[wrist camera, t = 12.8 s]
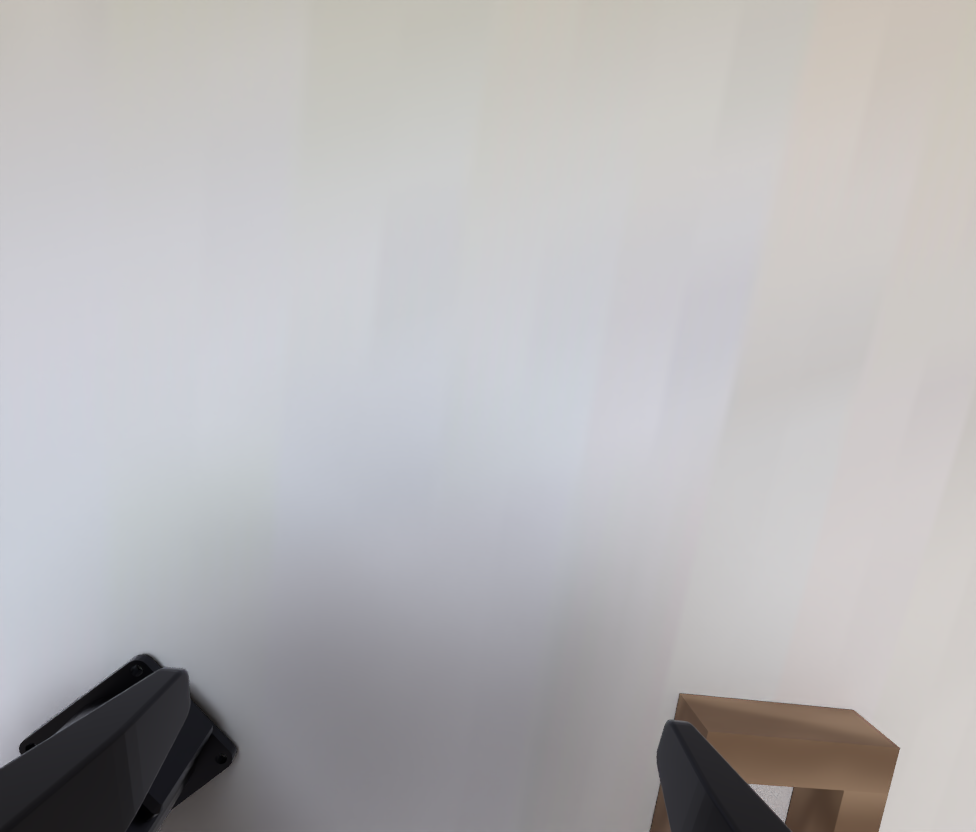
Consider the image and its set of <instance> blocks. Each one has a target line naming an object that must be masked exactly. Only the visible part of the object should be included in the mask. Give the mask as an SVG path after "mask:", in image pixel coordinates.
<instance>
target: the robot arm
mask: <svg viewBox="0 0 976 832" xmlns="http://www.w3.org/2000/svg"><path fill="white" fill-rule="evenodd" d="M137 666H140V667H142V669H143V671H142V670H139V669H138V668H137ZM35 744H36V745H37V746H36V745H35ZM19 751H20V753H21V756H19V757H18V758H16V759H14V760H13V761H11V762H10V763H8V764H6V765H5V766H3V767H2V768H0V832H157V831H158V830H159V828H160V826H161V825H162V823H163V822H164V820H165V818H166V817H167V815H168V813H169V812H170V810H172V809H173V808H174V807H176V806H177V805H178V804H180V803H181V802H182V801H184V800H185V799H186V798H187V797H189V796H190V795H191V794H193V793H194V792H195V791H197V790H198V789H199V788H201V787H202V786H203V785H205V784H206V783H207V782H209V781H210V780H211V779H213V778H214V777H215V776H217V775H218V774H219V773H221V772H222V771H223V770H225V769H226V768H227V767H229V766H230V764H231V763H232V761H233V760H234V758H235V756H236V753H237V751H236V747H235V746H234V744H233V743H232V742H231V741H230V740H229V739H228V738H227V737H226V736H225V735H224V734H223V733H222V732H221V731H220V730H219V728H218V727H217V726H216V725H215V724H214V723H213V722H212V721H211V720H210V719H209V718H208V717H207V716H206V715H205V714H204V713H203V712H202V711H201V710H200V708H199V707H198V706H197V705H196V704H195V703H194V702H193V701H192V700H191V699H190V688H189V675H188V672H187V671H186V670H185V669H181V668H171V667H164V668H161V667H160V666H159V665H158V664H157V663H156V662H155V661H154V660H153V659H152V658H151V657H149V656H147V655H138V656H136V657H134V658H133V659H131V660H130V661H129V662H127V663H126V664H125V665H123V666H122V667H121V668H119V669H118V670H117V671H115V672H114V673H112V674H111V675H110V676H108V677H107V678H106V679H104V680H103V681H102V682H100V683H99V684H98V685H96V686H95V687H94V688H92V689H91V690H90V691H88V692H87V693H85V694H84V695H83V696H81V697H80V698H79V699H77V700H76V701H75V702H73V703H72V704H71V705H69V706H68V707H67V708H65V709H64V710H63V711H61V712H60V713H58V714H57V715H56V716H54V717H53V718H52V719H50V720H49V721H48V722H46V723H45V724H44V725H42V726H41V727H40V728H38V729H37V730H36V731H34V732H33V733H32V734H30V735H29V736H28V737H27V738H26V739H25V740H24V741H23V742H22V743H21V744H20V747H19ZM220 754H224V755H226V757H223V756H221V755H220ZM657 767H658V772H659V777H660V782H661V786H662V791H663V796H664V801H665V806H666V810H667V815H668V820H669V825H670V830H671V832H792V831H791V830H790V829H789V828H788V827H787V825H786V824H785V823H784V822H783V821H782V820H781V819H780V818H779V817H778V816H777V815H776V814H775V813H774V812H773V810H772V809H771V808H770V807H769V806H768V805H767V804H766V803H765V802H764V801H763V800H762V799H761V798H760V797H759V795H758V794H757V793H756V792H755V791H754V790H753V789H752V788H751V787H750V786H749V785H748V784H747V783H746V781H745V780H744V779H743V778H742V777H741V776H740V775H739V774H738V773H737V772H736V771H735V770H734V769H733V768H732V766H731V765H730V764H729V763H728V762H727V761H726V760H725V759H724V758H723V757H722V756H721V755H720V754H719V753H718V751H717V750H716V749H715V748H714V747H713V746H712V745H711V744H710V743H709V742H708V741H707V740H706V739H705V738H704V736H703V735H702V734H701V733H700V732H699V731H698V730H697V729H696V728H695V727H694V726H693V725H692V724H691V723H689V722H687V721H679V720H668V721H667V722H666V724H665V726H664V729H663V733H662V736H661V739H660V743H659V746H658V749H657Z"/></svg>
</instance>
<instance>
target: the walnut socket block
mask: <svg viewBox="0 0 976 832" xmlns="http://www.w3.org/2000/svg"><path fill="white" fill-rule="evenodd" d="M674 720H679V721H687V722H689V723H691V724H692V725H693V726H694V727H695V728H696V729H697V730H698V731H699V732H700V733H701V734H702V735H703V736H704V738H705V739H706V740H707V741H708V742H709V743H710V744H711V745H712V746H713V747H714V748H715V749H716V750H717V751H718V753H719V754H720V755H721V756H722V757H723V758H724V759H725V760H726V761H727V762H728V763H729V764H730V765H731V766H732V768H733V769H734V770H735V771H736V772H737V773H738V774H739V775H740V776H741V777H742V778H743V779H744V780H745V781H746V783H747V784H760V785H774V786H788V787H794V790H793V794H792V798H791V802H790V806H789V810H788V815H787V819H786V823H785V824H786V825H787V827H788V828H789V829H790V830H791V831H792V832H878V831H879V827H880V824H881V820H882V816H883V812H884V808H885V804H886V800H887V796H888V792H889V789H890V785H891V781H892V777H893V773H894V769H895V765H896V761H897V757H898V754H899V750H900V748H899V747H898V746H897V745H896V744H894V743H893V742H892V741H891V740H889V739H888V738H887V737H886V736H885V735H883V734H882V733H881V732H880V731H879V730H877V729H876V728H875V727H874V726H872V725H871V724H870V723H869V722H868V721H866V720H865V719H864V718H863V717H861V716H860V715H859V714H858V713H857V712H855V711H854V710H847V709H837V708H826V707H816V706H805V705H795V704H784V703H774V702H763V701H753V700H743V699H732V698H722V697H711V696H701V695H690V694H680V696H679V700H678V705H677V710H676V714H675V719H674ZM650 832H671V830H670V825H669V820H668V815H667V810H666V806H665V801H664V796H663V791H662V786H661V784H660V789H659V793H658V798H657V803H656V807H655V812H654V816H653V821H652V826H651V830H650Z"/></svg>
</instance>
